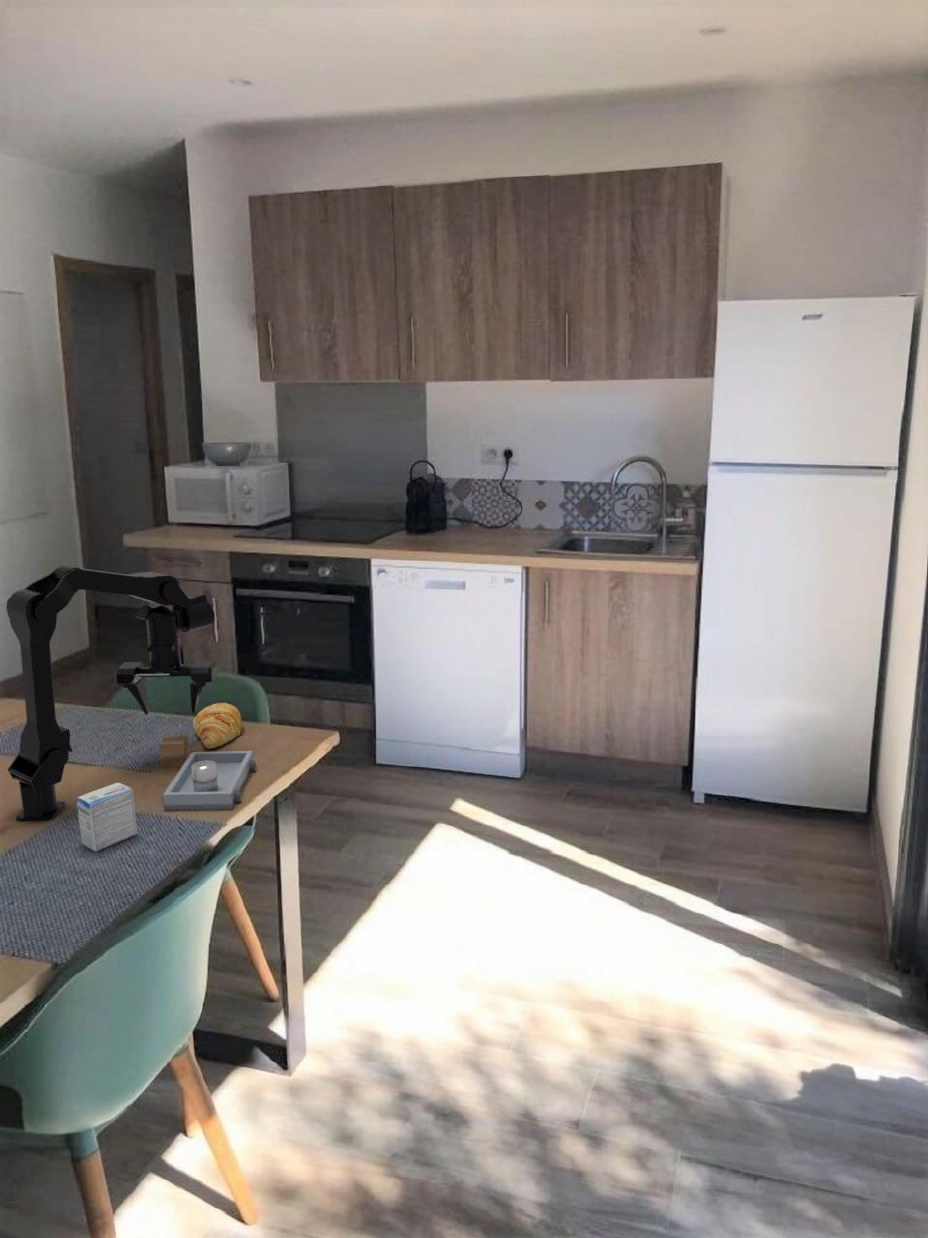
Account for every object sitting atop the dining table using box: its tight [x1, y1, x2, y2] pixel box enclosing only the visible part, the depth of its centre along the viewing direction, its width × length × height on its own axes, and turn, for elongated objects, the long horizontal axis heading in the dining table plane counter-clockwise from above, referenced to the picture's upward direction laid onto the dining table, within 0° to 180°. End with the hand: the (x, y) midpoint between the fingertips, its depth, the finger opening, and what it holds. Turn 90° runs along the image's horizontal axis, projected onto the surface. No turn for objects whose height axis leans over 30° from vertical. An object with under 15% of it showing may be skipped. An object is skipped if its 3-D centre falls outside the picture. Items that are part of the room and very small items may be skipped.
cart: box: [161, 750, 257, 811], centre depth 186 cm, size 20×14×3 cm
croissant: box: [192, 701, 242, 750], centre depth 213 cm, size 21×10×8 cm, turn 4°
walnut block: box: [158, 734, 191, 768], centre depth 198 cm, size 4×4×5 cm
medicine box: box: [76, 782, 138, 852], centre depth 165 cm, size 8×4×9 cm, turn 141°
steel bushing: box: [191, 760, 218, 792], centre depth 182 cm, size 4×4×5 cm
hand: (170, 713), depth 196 cm, fingers open, 9 cm apart
